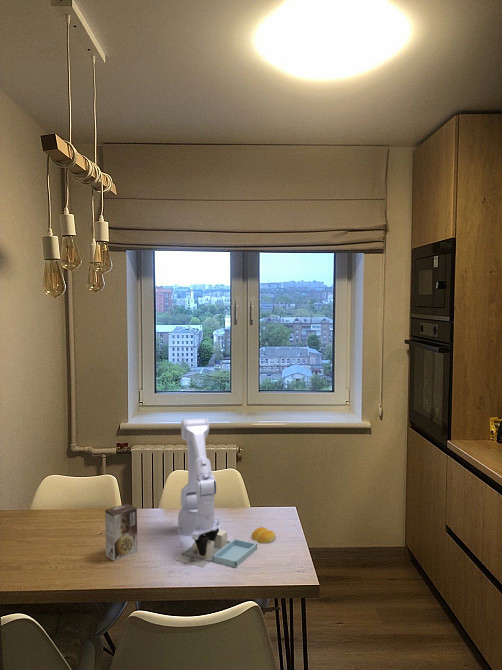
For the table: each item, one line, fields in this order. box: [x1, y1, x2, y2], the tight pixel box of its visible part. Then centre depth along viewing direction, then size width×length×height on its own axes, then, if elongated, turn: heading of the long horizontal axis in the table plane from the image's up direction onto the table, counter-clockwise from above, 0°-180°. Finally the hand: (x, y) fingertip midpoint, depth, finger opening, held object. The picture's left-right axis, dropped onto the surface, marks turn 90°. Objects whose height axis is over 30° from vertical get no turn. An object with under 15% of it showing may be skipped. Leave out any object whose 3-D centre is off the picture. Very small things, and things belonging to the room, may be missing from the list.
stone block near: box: [198, 540, 214, 559], centre depth 178 cm, size 4×4×4 cm
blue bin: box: [212, 538, 258, 569], centre depth 178 cm, size 9×15×2 cm, turn 152°
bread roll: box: [251, 526, 277, 544], centre depth 192 cm, size 8×9×4 cm
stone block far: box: [214, 529, 228, 548], centre depth 186 cm, size 4×4×4 cm
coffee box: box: [104, 503, 139, 562], centre depth 179 cm, size 9×6×16 cm
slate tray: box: [174, 540, 232, 568], centre depth 181 cm, size 12×20×1 cm, turn 152°
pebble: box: [191, 541, 198, 552], centre depth 181 cm, size 3×3×3 cm
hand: (205, 552), depth 178 cm, fingers open, 4 cm apart
